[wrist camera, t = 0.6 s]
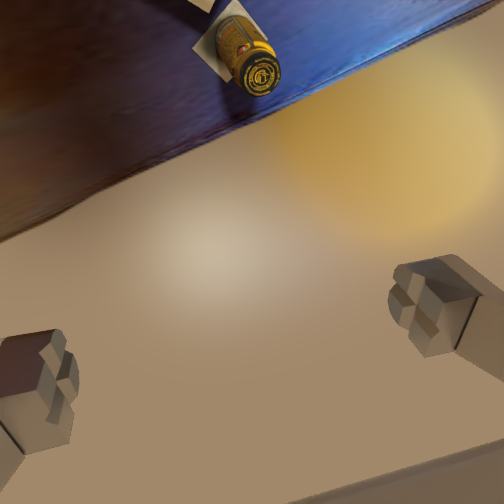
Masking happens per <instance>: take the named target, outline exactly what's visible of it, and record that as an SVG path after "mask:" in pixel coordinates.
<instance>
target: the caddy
mask: <svg viewBox="0 0 504 504" xmlns="http://www.w3.org/2000/svg"><path fill="white" fill-rule="evenodd" d="M188 1H190V2H191V3H193V4H195V5H196V6H198V7H199V8H201V9H203V10H204V11H206V12H207V13H209V12H210V10H211V8H212V5H213V3H214V1H215V0H188Z"/></svg>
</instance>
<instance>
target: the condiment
mask: <svg viewBox="0 0 504 504" xmlns="http://www.w3.org/2000/svg"><path fill="white" fill-rule="evenodd" d="M266 40H268V38H267V37H266V36H265V35H264V33H263V32H262V31H261V30H260V28H259V27H258V26H257V24H256V23H255V22H254V21H253V19H252V18H251V17H250V16H249V14H248V13H247V12H246V11H245V9H244V8H243V7H242V5H241V4H240V3H239V2H238V0H232V1H231V3H230V4H229V5H228V6H227V7H226V8H225V10H224V11H223V12H222V13H221V14H220V15H219V17H218V18H217V19H216V20H215V21H214V23H213V24H212V25H211V27H210V28H209V29H208V30H207V31H206V32H205V34H204V35H203V36H202V37H201V38H200V40H199V41H198V42H197V44H196V45H195V46H194V47H193V48H192V49H193V50H194V51H195V52H196V53H197V54H198V55H199V56H200V57H201V58H202V59H203V60H204V61H205V62H206V63H207V64H208V65H209V66H210V67H211V68H212V69H213V70H214V71H215V72H216V73H217V74H218V75H219V76H220V77H221V78H222V79H223V80H224V81H225V82H226V83H227V82H228V81H229V80H230V79H231V78H232V77H233V79H234V81H235V82H236V83H237V84H238V85H239V86H240V87H242V89H243V90H244V91H245V92H246V93H247V94H249V95H251V96H253V97H262V96H265V95H267V94H269V93H270V92H272V91H273V90H274V88H275V87H276V86H277V85H278V82H279V80H280V77H281V70H280V65H279V62H278V60H277V59H276V55H275V53H274V51H273V49H272V47H271V46H270V45H269V43H268V42H267V41H266Z"/></svg>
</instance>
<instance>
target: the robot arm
mask: <svg viewBox="0 0 504 504" xmlns="http://www.w3.org/2000/svg"><path fill="white" fill-rule="evenodd" d="M393 279H394V280H395V282H396V284H395V285H394V286H393V287H392V289H391V290H390V291H389V296H388V305H389V311H390V313H391V315H392V317H393V319H394V320H395V321H396V323H397V324H398V325H399V326H401V327H403V328H406V329H407V330H409V339H410V340H411V341H412V343H413V344H414V345H415V346H416V348H417V349H418V350H419V351H420V353H421V354H422V355H423V356H424V357H430V356H435V355H440V354H444V353H449V352H453V351H456V352H455V353H456V354H458V355H460V356H461V357H463V358H464V359H466V360H468V361H469V362H471V363H473V364H474V365H476V366H478V367H479V368H481V369H483V370H484V371H486V372H488V373H489V374H491V375H493V376H494V377H496V378H498V379H499V380H501V381H503V382H504V292H503V291H502V290H501V289H499V288H498V287H497V286H495V285H494V284H493V283H492V282H490V281H489V280H488V279H487V278H485V277H484V276H483V275H481V274H480V273H479V272H478V271H476V270H475V269H474V268H473V267H471V266H470V265H469V264H467V263H466V262H465V261H464V260H462V259H461V258H460V257H458V256H456V255H453V254H449V255H444V256H439V257H434V258H432V259H426V260H421V261H416V262H410V263H405V264H400V265H398V266H397V267H396V269H395V270H394V274H393ZM66 342H67V341H66V338H65V336H64V335H63V333H62V331H61V330H59V329H53V330H47V331H41V332H35V333H29V334H23V335H16V336H10V337H7V338H1V339H0V492H1V491H2V489H3V488H4V487H5V485H6V484H7V482H8V481H9V480H10V478H11V477H12V475H13V474H14V472H15V471H16V470H17V468H18V467H19V466H20V464H21V463H22V462H23V460H24V459H25V456H24V455H28V454H32V453H35V452H39V451H43V450H46V449H50V448H54V447H58V446H61V445H65V444H69V441H70V436H71V430H72V424H73V419H74V412H73V411H72V409H71V407H70V404H71V403H72V402H73V401H74V399H75V398H76V397H77V396H78V390H79V370H78V366H77V362H76V359H75V357H74V355H73V354H72V353H70V352H68V351H65V346H66ZM286 504H504V439H500V440H497V441H494V442H491V443H487V444H484V445H480V446H477V447H473V448H470V449H467V450H464V451H460V452H457V453H453V454H450V455H447V456H443V457H440V458H437V459H433V460H430V461H427V462H423V463H420V464H417V465H413V466H410V467H407V468H403V469H400V470H396V471H393V472H390V473H386V474H383V475H380V476H377V477H373V478H370V479H366V480H363V481H360V482H356V483H353V484H350V485H346V486H343V487H340V488H336V489H333V490H330V491H326V492H323V493H320V494H316V495H313V496H309V497H306V498H303V499H299V500H296V501H293V502H289V503H286Z"/></svg>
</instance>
